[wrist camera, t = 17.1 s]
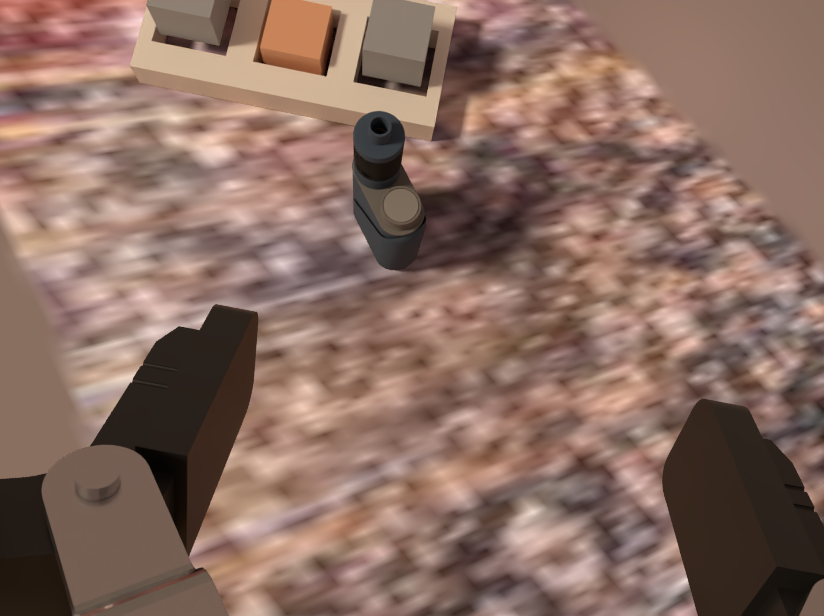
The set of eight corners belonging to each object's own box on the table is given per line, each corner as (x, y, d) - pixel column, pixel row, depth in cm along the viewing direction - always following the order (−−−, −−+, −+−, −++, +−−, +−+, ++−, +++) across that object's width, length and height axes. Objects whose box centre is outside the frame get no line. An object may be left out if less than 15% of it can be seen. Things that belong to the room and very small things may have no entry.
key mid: (333, 33, 45) (331, 6, 43) (322, 83, 45) (319, 59, 42) (278, 21, 45) (273, -6, 43) (265, 72, 45) (259, 47, 42)
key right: (430, 34, 44) (435, 6, 41) (420, 86, 43) (424, 62, 40) (373, 22, 44) (374, -7, 41) (362, 74, 43) (362, 49, 40)
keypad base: (452, 26, 46) (457, 7, 44) (431, 141, 45) (434, 127, 43) (172, -32, 46) (164, -54, 44) (140, 82, 44) (129, 65, 42)
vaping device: (384, 186, 44) (393, 90, 32) (423, 262, 43) (447, 192, 31) (345, 203, 44) (340, 112, 32) (384, 280, 43) (393, 216, 31)
